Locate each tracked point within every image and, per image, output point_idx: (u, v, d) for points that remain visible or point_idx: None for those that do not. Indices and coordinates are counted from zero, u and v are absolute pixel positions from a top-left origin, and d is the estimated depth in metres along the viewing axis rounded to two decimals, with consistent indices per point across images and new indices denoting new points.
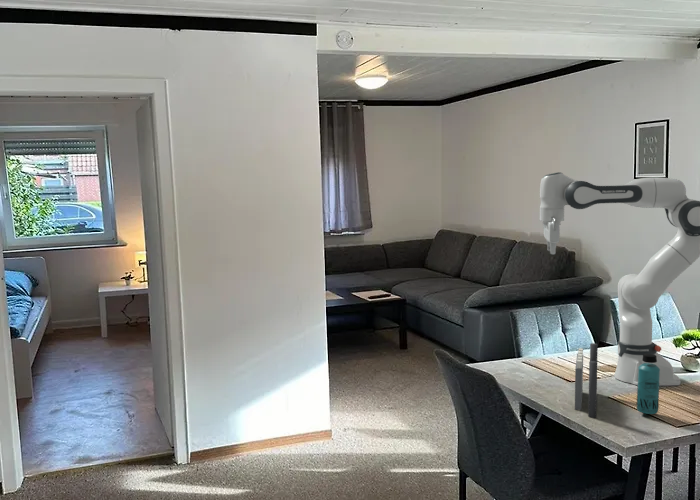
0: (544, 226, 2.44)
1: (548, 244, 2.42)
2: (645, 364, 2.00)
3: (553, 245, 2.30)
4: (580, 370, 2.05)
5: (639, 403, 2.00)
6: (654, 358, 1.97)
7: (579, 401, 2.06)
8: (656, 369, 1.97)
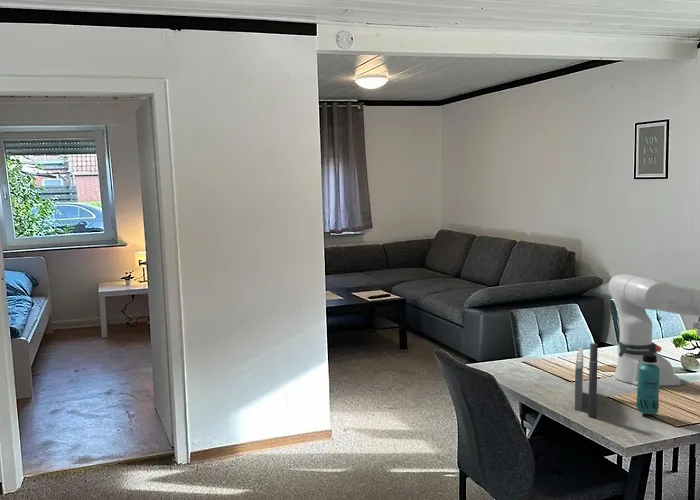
0: None
1: None
2: (645, 364, 2.00)
3: None
4: (580, 370, 2.05)
5: (639, 403, 2.00)
6: (654, 358, 1.97)
7: (579, 401, 2.06)
8: (656, 369, 1.97)
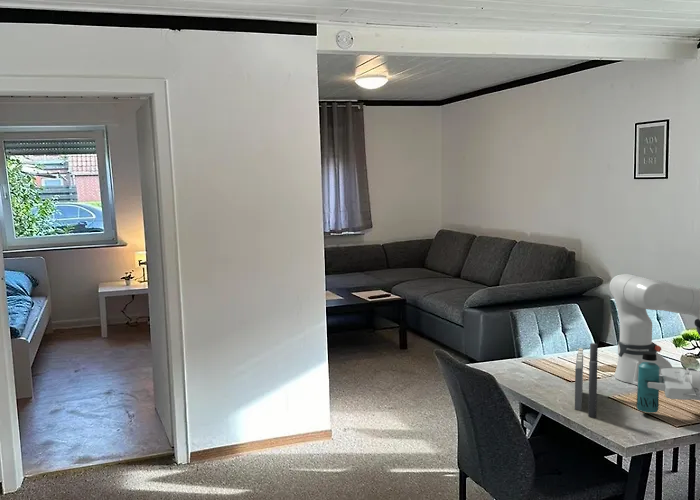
0: (676, 371, 2.04)
1: None
2: (645, 362, 2.01)
3: (660, 387, 1.95)
4: (580, 370, 2.05)
5: (639, 402, 2.00)
6: (654, 356, 1.98)
7: (579, 401, 2.06)
8: (656, 367, 1.98)
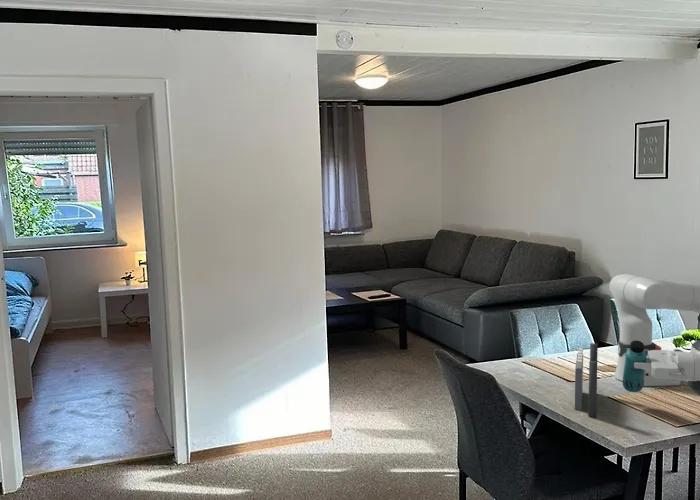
0: (663, 352, 2.05)
1: None
2: None
3: (646, 367, 1.96)
4: (580, 370, 2.05)
5: (625, 383, 2.07)
6: (641, 348, 1.98)
7: (579, 401, 2.06)
8: (643, 358, 1.99)
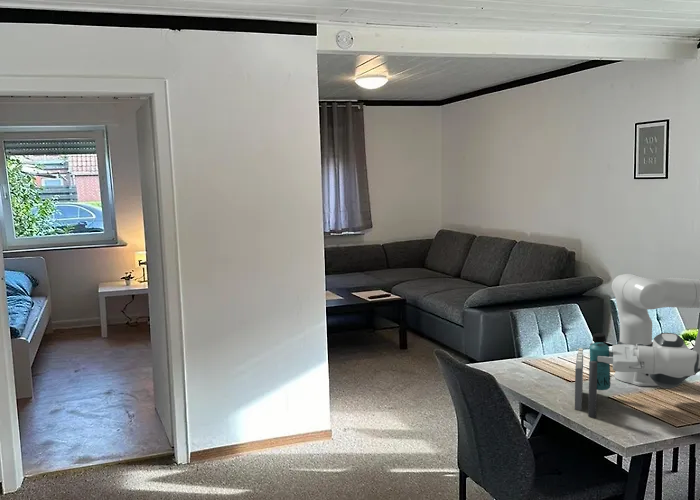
0: (626, 346, 2.12)
1: None
2: (595, 343, 2.10)
3: (608, 360, 2.04)
4: (580, 370, 2.05)
5: None
6: (603, 338, 2.07)
7: (579, 401, 2.06)
8: (605, 348, 2.07)
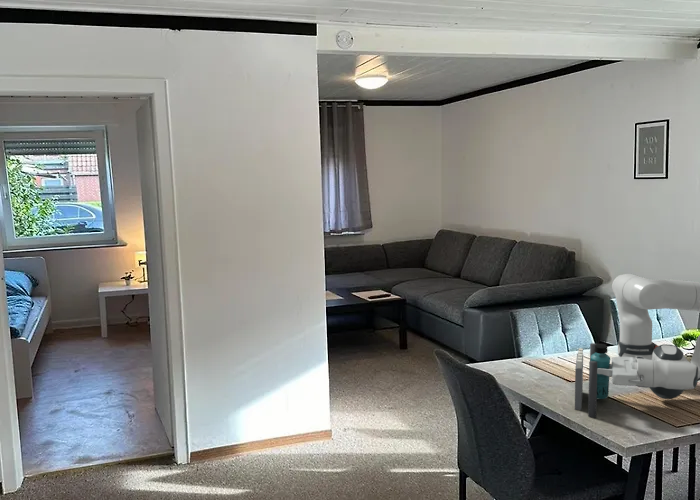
0: (626, 359, 2.13)
1: None
2: (597, 353, 2.11)
3: (608, 373, 2.05)
4: (580, 370, 2.05)
5: None
6: (605, 349, 2.08)
7: (579, 401, 2.06)
8: (606, 359, 2.08)
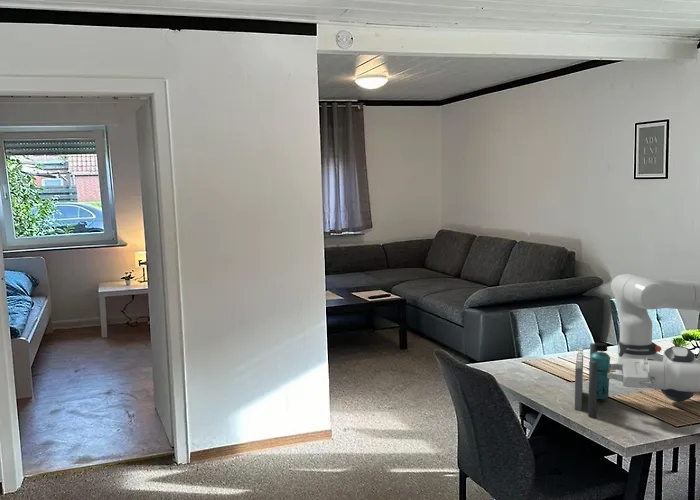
0: (636, 361, 2.11)
1: (615, 365, 2.12)
2: (597, 352, 2.14)
3: (618, 377, 2.01)
4: (580, 370, 2.05)
5: None
6: (605, 347, 2.11)
7: (579, 401, 2.06)
8: (606, 357, 2.10)
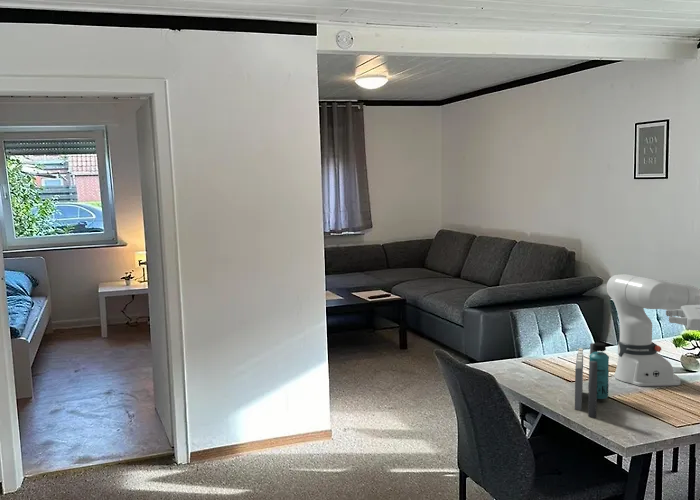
0: (697, 307, 2.02)
1: (674, 311, 2.02)
2: (595, 352, 2.14)
3: (682, 321, 1.91)
4: (580, 370, 2.05)
5: None
6: (603, 347, 2.11)
7: (579, 401, 2.06)
8: (605, 357, 2.11)
